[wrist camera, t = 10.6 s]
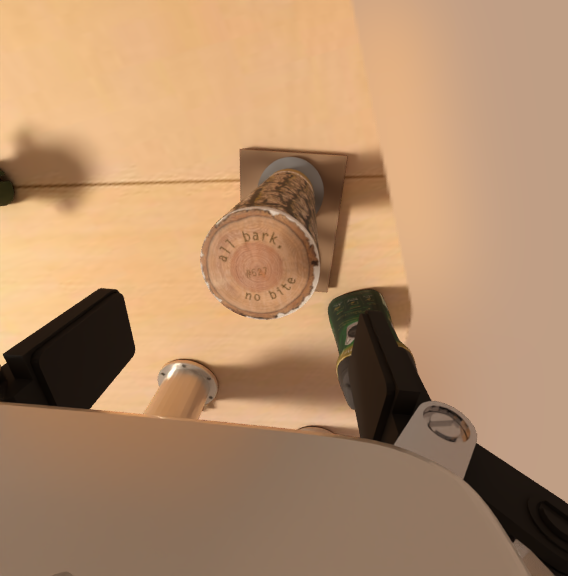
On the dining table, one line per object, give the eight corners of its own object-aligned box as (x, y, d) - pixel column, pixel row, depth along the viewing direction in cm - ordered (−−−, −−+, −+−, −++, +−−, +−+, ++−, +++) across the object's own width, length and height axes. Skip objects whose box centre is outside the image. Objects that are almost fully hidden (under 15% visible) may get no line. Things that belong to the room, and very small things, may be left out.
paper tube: (258, 173, 37) (182, 220, 15) (309, 163, 36) (310, 196, 14) (269, 223, 40) (220, 325, 18) (317, 215, 39) (327, 313, 17)
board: (326, 288, 46) (327, 294, 44) (243, 281, 47) (240, 287, 45) (346, 155, 37) (348, 156, 35) (242, 148, 38) (238, 149, 36)
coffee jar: (334, 333, 51) (347, 425, 34) (323, 297, 47) (331, 379, 31) (389, 321, 48) (431, 412, 32) (381, 282, 45) (423, 362, 29)
